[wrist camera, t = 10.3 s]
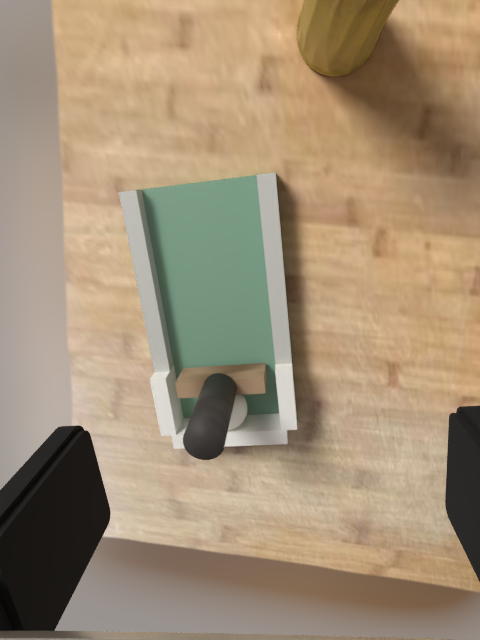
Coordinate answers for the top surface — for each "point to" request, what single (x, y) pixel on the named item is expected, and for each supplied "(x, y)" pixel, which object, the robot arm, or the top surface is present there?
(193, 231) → the pitch
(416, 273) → the top surface
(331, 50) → the vase
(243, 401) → the ball
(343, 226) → the top surface
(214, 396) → the striker
